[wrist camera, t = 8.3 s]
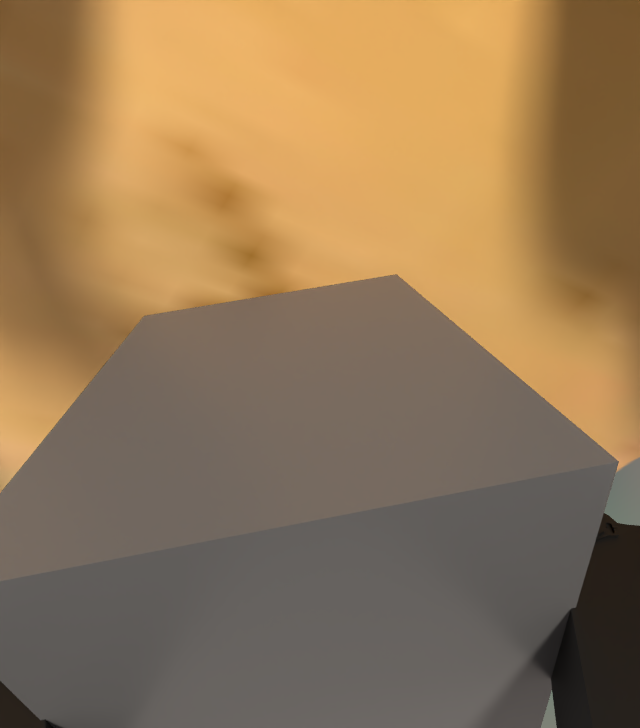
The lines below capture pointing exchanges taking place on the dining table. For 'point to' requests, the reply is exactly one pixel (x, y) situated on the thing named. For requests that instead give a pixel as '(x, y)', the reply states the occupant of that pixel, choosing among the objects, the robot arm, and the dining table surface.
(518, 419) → the matte gray cube
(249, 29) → the dining table surface
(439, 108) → the dining table surface
